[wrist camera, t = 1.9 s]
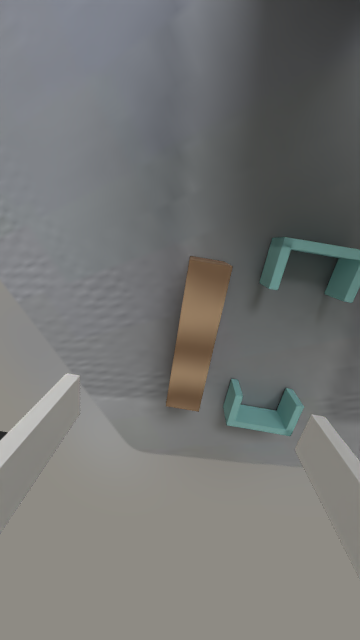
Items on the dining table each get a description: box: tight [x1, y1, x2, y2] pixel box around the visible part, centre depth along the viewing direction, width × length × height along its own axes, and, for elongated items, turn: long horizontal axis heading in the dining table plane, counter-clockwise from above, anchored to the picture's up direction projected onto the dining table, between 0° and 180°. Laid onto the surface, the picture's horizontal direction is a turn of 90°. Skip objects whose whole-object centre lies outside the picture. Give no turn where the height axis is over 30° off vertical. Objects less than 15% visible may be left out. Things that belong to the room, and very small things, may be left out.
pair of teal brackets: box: [223, 237, 360, 436], centre depth 22 cm, size 21×8×3 cm, turn 171°
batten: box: [166, 256, 232, 412], centre depth 22 cm, size 15×4×5 cm, turn 171°
